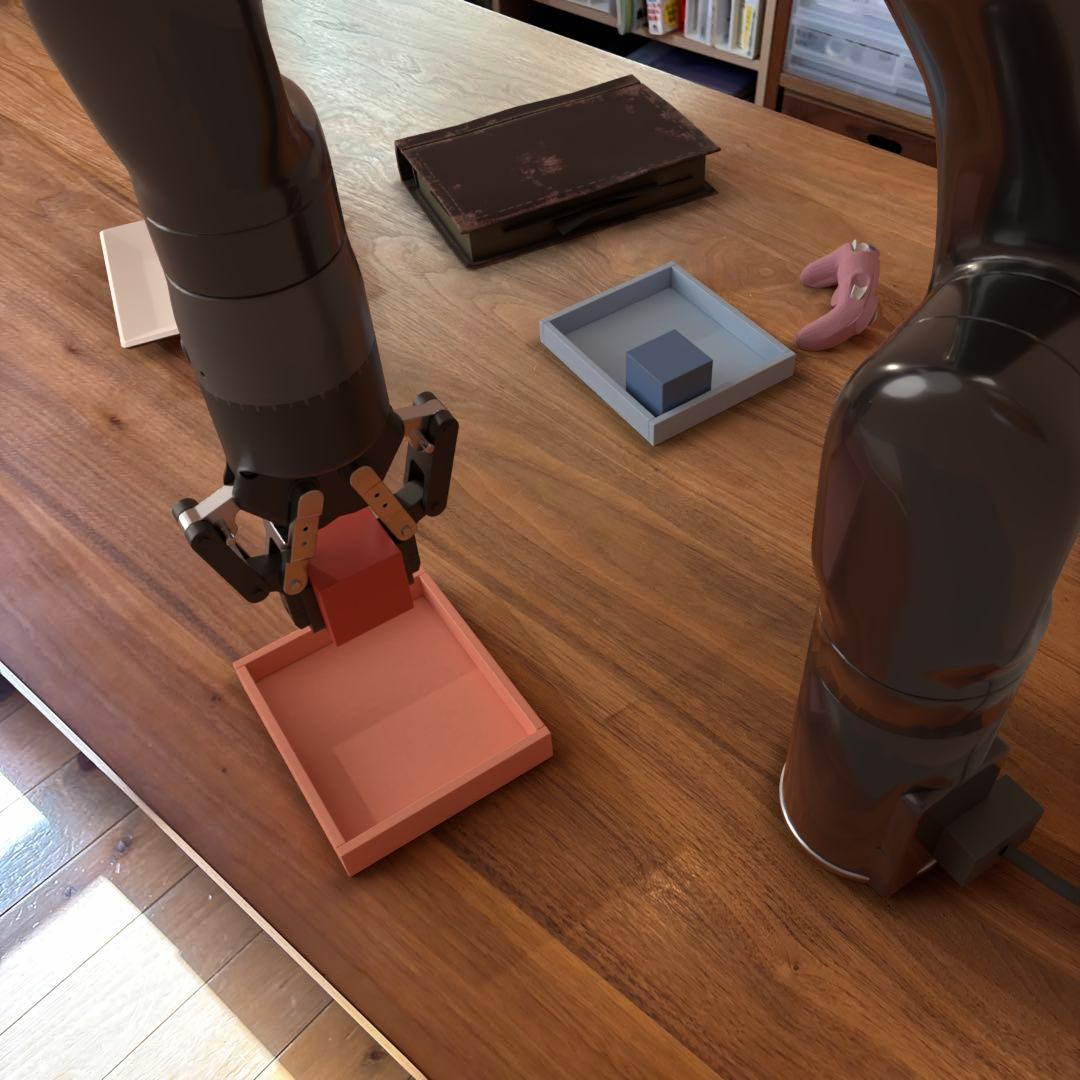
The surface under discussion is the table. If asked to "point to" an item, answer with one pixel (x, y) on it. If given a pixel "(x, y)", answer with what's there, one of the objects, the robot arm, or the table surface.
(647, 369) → the blue block
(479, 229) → the diary
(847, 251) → the video game controller
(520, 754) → the red tray
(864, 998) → the table surface
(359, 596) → the red block
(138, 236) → the plate
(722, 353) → the blue tray
